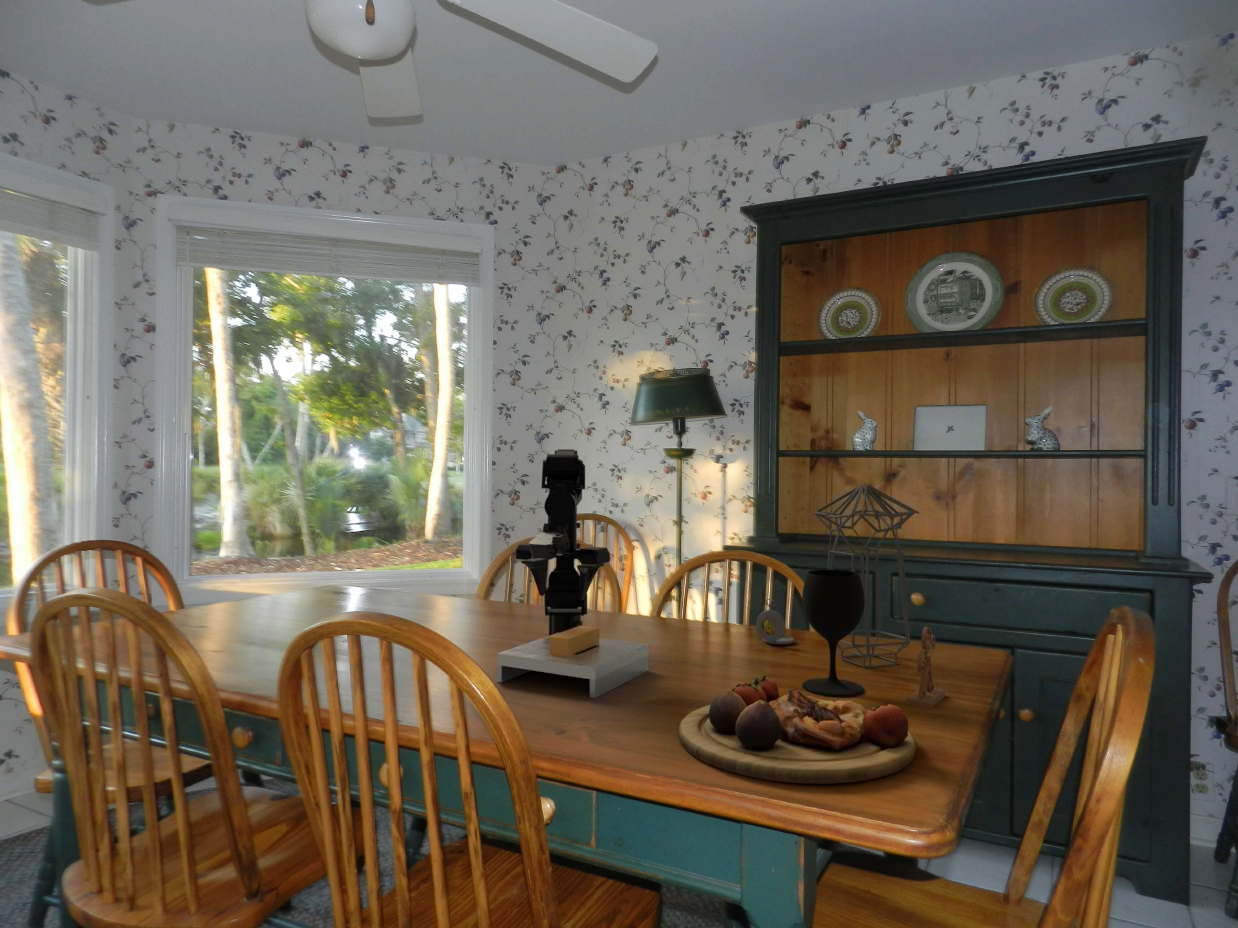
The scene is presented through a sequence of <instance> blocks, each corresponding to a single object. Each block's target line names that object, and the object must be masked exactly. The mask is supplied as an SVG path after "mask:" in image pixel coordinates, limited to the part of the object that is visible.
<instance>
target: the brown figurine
mask: <svg viewBox="0 0 1238 928" xmlns="http://www.w3.org/2000/svg"><path fill="white" fill-rule="evenodd" d="M920 641H921V643H920V644H921V649H920V650H919V654H918V656H917V664H916V665H917V666H916V670H917V673H920V680H919V681H920V682H919V689H917V690H916V691H914V692H913V693H912V694H911V695H909V696H908V697H907V698H906V700H905V702H906V703H905V705H908V706H913V707H920V708H923V709H924V708H925V709H932V708H933V707H934V706H936V704H938V703H939V702H940V701H941V700H943V699H944V698H945V697H946V691H945V690H944V689H940V688H935V685H934V679H933V674H932V657H933V655H934V652H935V647H936V637H935V635H934V634H932V629H931V627H929V626H923V628H922V631H921V639H920Z"/></svg>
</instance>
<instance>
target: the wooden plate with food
mask: <svg viewBox="0 0 1238 928" xmlns="http://www.w3.org/2000/svg"><path fill="white" fill-rule="evenodd" d="M752 680H754V681H753V683H747V682H745V683H743V684H742V683H738V684H736V686H735V687H734V688H732V689H729V688H727V689H726V690H724V691H722V692H720V693H719V694H717V695H716V696H715V697H714V698H713V700H712V702H711V704H708V705H706V706H702V707H700V708H696V709H695V710H693V711H691V712H689V713H688V714H687V715H685V717H684V718H683V719H682V720H681V721H680V723H679V727H678V730H677V732H678V733H677V734H678V739H679V742H680V744H681V745H682V746H683V748H684V749H685V750H686V751H687V752H688V753H689V754H691V755H692V756H694V757H695V758H696V759H698V760H700V761H701V762H704V763H706V764H708V765H710V766H713V767H716V768H719V769H722V770H724V771H727V772H731V773H734V774H738V775H742V776H746V777H751V778H755V779H760V780H766V781H774V782H780V783H781V782H782V783H793V784H828V785H829V784H830V785H831V784H845V783H846V784H847V783H855V782H863V781H869V780H874V779H878V778H882V777H885V776H889V775H892V774H894V773H896V772H899V771H900V770H902V769H904V768H905V767H907V766H908V765H909V764H910V763H911V761H913V759H914V758H915V754H916V752H917V746H916V741H915V738H914V737H913V735H912V733H911V732H910V731H909V718H908V717H907V715H906V714H905V713H904V711H903V709H901V708H900V707H899V706H898V705H893V704H889V703H888V704H887V703H885V704H884V705H879V704H877V705H875V707H872V708H870V710H868V709H867V708H866V707H864V706H863V705H861V704H860V703H857V702H855V701H853V700H835V701H832V700H826V699H821V698H816V697H814V696H809V695H808V696H807V695H805V694H804V693H803V692H802V691H800V690H799V689H798V688H794V689H789V691H788V694H783V695H782V696H781V695H780V693H779V687H778V684H777V683H776V681H775V680H773V679H772V678H770V677H769V675H762V676H761V677H756V676H755V677H753V679H752Z"/></svg>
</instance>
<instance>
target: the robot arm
mask: <svg viewBox="0 0 1238 928" xmlns="http://www.w3.org/2000/svg"><path fill="white" fill-rule="evenodd" d="M579 457H580V456H579V454H578V450H575V449H573V448H572V449H571V448H569V449H568V448H567V449H564V448H563V449H562V448H561V449H559V448H558V449H557V450H556V449H555V450H554V453H548V454H546V458H545V459H543V460H542V471H541V489H543V490H544V489H546V490H547V489H548V490H549V492H548V494H547V497H546V498H545V501H544V504H543V505H544V506H543V507H544V512H545V514H546V515H547V522H544V523H543V527H542V533H540V534H537V536H535V537H534V538H533V539H531V540H530V541H529V542H527V543H522V544H518V545H517V547H516V548H515V551H514V552H515V554H514V555H515V556H514V557H515V558H514V559H516V560H520V563H521V564H523V565H525V566H526V567H527V568H528V569H529V570H530V573H531V574H532V578H533V580H534V583H535V586H536V589H537V591H538V594H539V596H540V597H543V596H544V616H545V617H547V616H548V636H550V635H553V634H556V633H561V632H564V631H567V630H570V629H572V628H575V627H578V626H583V621H582V620H581V619H582V617H584V616H585V615H588V591H589V589H590V587H591V584H592V582H593V579H594V578H595V576H596V574H597V573H598V571H599V569H600V567H604V566H605V564H606V563H611V553H610V551H609V549H608V547H603V546H602V547H601V546H588V547H587V546H586V547H582V548H581V543H580V542H577V541H578V537H577V536H578V529H580V528H581V522H578V506H579V504H580V502H581V501H582V500H583V490H586V465H585V464H584V461H583V460H582V459H580V458H579ZM553 559H555V566H554V568H553V570H552V571H551V572H550V573H549V576H548V568H549V565H548V564H549V561H550V560H553ZM575 560H577V561H578V562H579V563H580V564H579V565H578V564H577V565H576V568H577V569H576V568H575ZM547 578H548V579H547ZM581 616H582V617H581Z"/></svg>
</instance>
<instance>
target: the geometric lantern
mask: <svg viewBox="0 0 1238 928" xmlns="http://www.w3.org/2000/svg"><path fill="white" fill-rule="evenodd" d="M862 495H863V504H862V509H861V510H857V508H858V506H859V502H860V500H861V498H862ZM871 497H872V498H871ZM845 498H846V499H845ZM844 499H845V500H844ZM866 499H867V500H866ZM842 500H843V501H842ZM854 500H855V501H854ZM873 500H874V501H875V503H876V504H877V505H878V506H879V507H880V508H881V510H879V509H876V508H875V505H874V502H873ZM886 500H887V501H889V502H891V503H893V504H895V505H896V506H897V507H900V508H902V509H904V510H905V511H898V510H897V509H895V508H894V507H893V506H892V505H890V503H888V502H887V501H886ZM840 501H842V502H841V504H839V505H838V506H837V507H836V508H835V509H834V510H833V511H832V512H826V511H824V510H826V509H828V508H829V507H831V506H833V505H834V504H836V503H838V502H840ZM853 501H854V504H853V506H852V508H851V512H850V513H845V511H846V510H847V509H848V508H849V506H850V505H851V503H852V502H853ZM867 501H868V502H869V506H870V509H871V510H868V509H869V508H868V505H867V504H868V503H867ZM838 511H839V512H838ZM843 513H845V514H843ZM915 514H917V515H919V514H920V511H917V510H916V509H914V508H912V507H910V506H909V505H907V504H905V503H903V502H901V501H900V500H897V499H895V498H894V497H892V496H890V495H888V494H887V493H885V492H883V491H881V490H879V489H877V488H876V487H873V486H872V485H870V484H868V485H867V484H860V485H858V486H856V487H854V488H852V489H851V490H849V491H847V492H846V493H844V494H842V495H840V496H839V497H837V498H836V499H834V500H832V501H830V502H829V503H827V504H826V505H824V506H822V507H820V508H818V509H817V510H815V511H813V515H814V516H815V517H816V518H817V519H818V520H819V522H820V523H821V524H822V525H823V526H824V527H825V528H826V529H827V530H828V531H829V532H830V534H829V542H828V543H829V544H828V552H827V553H828V554H827V570H835V556H836V555H835V554H841V555H848V556H851V571H852V572H856V570H855V569H856V568H855V557H860V566H861V567H860V568H861V569H860V570H861V571H860V572H861V582H862V585H863V590H864V599H865V605H864V612H863V617H864V626H865V627H864V628H865V629H858V630H856V628H855V629H854V630H853V631H852V632H851V633H850V634H849V635H851V642H849V641H846V640H844V639H842V640H840V641H839V642H838V644H837V648H838V649H839V650H840V657H841V658H840V659H841V660H843V661H846V662H848V663H851V664H854V665H857V666H860V667H862V668H865V669H867V668H869V669H871V668H872V669H873V668H879V667H889V666H898V665H899V662H898V654H899V653H900V652H902V651H903V650H904V649H906V648H907V647H908V646H909V645H910V643H911V636H910V634H911V633H910V624H909V611H908V599H907V587H906V573H905V572H906V571H905V563H904V562H905V560H904V559H905V558H904V553H905V551H904V550H901V546H900V541H899V537H898V531H897V530H902V526H903V525H904V524H905V523H906V522H908V520H909V519H911V517H913V516H914V515H915ZM856 516H857V519H855V517H856ZM904 516H905V517H904ZM866 517H870V518H871V517H873V518H875V520H877V523H878V525H877V526H878V528H877V526H875V525H874V524H873V523H872V522H870V520H869V519H867V518H866ZM884 517H888V519H890V524H889V523H888V522H887V521H886V519H885V518H884ZM833 518H834V520H832V519H833ZM842 518H843V519H844V518H845V520H844V521H842V520H843V519H842ZM895 518H900V520H899V521H897V522H896V523H895V522H894V521H895ZM823 519H824V520H823ZM838 519H839V522H838ZM850 519H851V523H850V524H851V525H850V526H848V525H846V524H847V523H848V521H850ZM861 519H862V520H863V521H864V522H865V523H867V525H868V526H869V527H870V528H871V529H872V530H873V531H874V532H873V534H872V535H871V536H870V538H869V539H868V541H866V543H865V542H864V540H863V539H862V538H861V537H860V535H859V534H858V532H857V531H856V530H855V528H854V527H855V526H856V525H857V524H858V523H859V521H861ZM825 520H826V521H828V523H826V521H825ZM881 522H882V523H883V524H884V525H885V526H886V528H882V527H881ZM832 524H833V525H834V526H836V527H835V528H832ZM843 529H845V530H852V531H853V532H854V533H855V535H856V536H857V537H858V539H859V540H860V541H861V543H862V544H863V545H864V546H863V548H862V547H861V548H853V546H852V545H851V543H850V542H849V540H848V538H847V537H846V535H845V534H844V531H843ZM890 531H891V533H892V536H893V540H894V543H895V546H896V549H897V550H894V549H885V548H884V549H883V548H880V547H882V544H883V543H884V540H886V539H885V538H886V537H887V535H888V533H889V532H890ZM833 532H837V533H836V537H835V540H834V544H833V548H832V549H831V545H832V535H833ZM876 533H884V534H883V536H882V537H881V539H880V541H879V543H878V544H877V546H876V548H874V547H868V544H870V542H871V540H872V539H873V538H874V536H875V535H876ZM840 535H841V536H842V537H843V540H844V541H845V544H847V547H848V548H844V549H842V548H841V549H837V545H838V542H839V538H840ZM849 551H850V552H849ZM855 551H860V552H858V553H856V552H855ZM864 551H865V552H866V553H863V552H864ZM871 551H872V553H871ZM878 551H879V552H878ZM873 552H874V553H873ZM862 553H863V554H862ZM888 555H896V559H897V569H898V577H899V579H898V580H899V586H900V587H899V588H900V595H901V596H900V597H901V605H902V614H903V623H904V631H905V633H904V634H905V636H903V635H899V634H894V633H891V632H890V633H889V632H887V631H883V630H882V628H883V627H882V626H883V625H882V608H881V591H880V590H881V589H880V574H879V556H888ZM865 556H866V558H865V559H866V561H865V560H864V557H865ZM870 556H874V559H875V561H874V562H875V563H874V564H875V578H876V595H877V596H876V598H877V614H878V615H877V616H878V630H875V629H869V607H870V606H869V605H870V603H869V602H870V601H869V599H870V597H869V596H870V594H869V593H870V592H869V591H870V588H869V587H870V584H869V583H870ZM865 563H866V564H865ZM865 565H866V566H865ZM865 569H866V570H865ZM865 572H866V573H865ZM862 633H865V638H866V639H865V640H866V643H857V644H856V634H862ZM869 633H873V634H878V635H877V636H876V637H875V640H874V642H873V643H870V634H869ZM881 635H884V636H889V637H893V638H897V639H901V640H904V641H892V642H878V640H879V638H880V637H881ZM877 642H878V643H877ZM839 643H841V644H844V645H847V647H843V646H841V645H840V644H839ZM899 645H900V646H899ZM886 646H899V647H898V648H897V649H896V650H895V649H891V648H886ZM859 648H866V653H863V651H861V650H860V649H859ZM850 649H856V650H857V652H855V651H852V650H850ZM875 649H879V650H883V651H889V652H883V653H876V654H875ZM844 652H846V653H850V654H851V655H844ZM891 655H894V659H891V658H887V657H885V656H891ZM855 657H857V658H858V657H862V662H863V664H862V663H860V662H859V663H858V662H856V661H853V660H850V659H848V658H855ZM872 657H876V658H880V659H883V660H886V661H889V662H891V663H883V664H876V665H875V664H874V665H872ZM866 658H868V665H866Z"/></svg>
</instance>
